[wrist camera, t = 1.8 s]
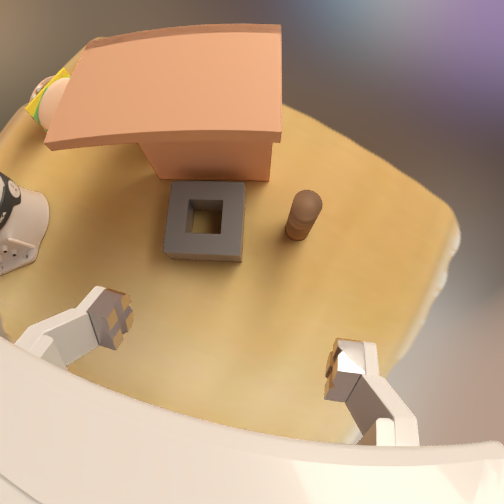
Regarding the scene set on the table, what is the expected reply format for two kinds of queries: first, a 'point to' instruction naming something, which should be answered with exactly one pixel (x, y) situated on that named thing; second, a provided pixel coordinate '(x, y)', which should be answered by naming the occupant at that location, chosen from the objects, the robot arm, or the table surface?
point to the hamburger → (47, 98)
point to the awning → (180, 99)
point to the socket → (205, 198)
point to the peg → (303, 214)
